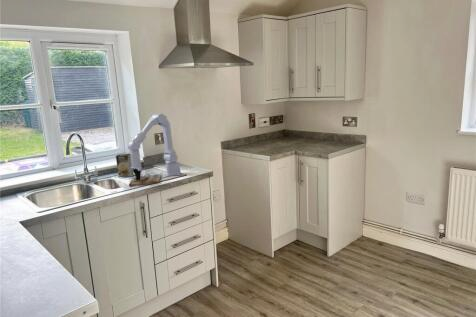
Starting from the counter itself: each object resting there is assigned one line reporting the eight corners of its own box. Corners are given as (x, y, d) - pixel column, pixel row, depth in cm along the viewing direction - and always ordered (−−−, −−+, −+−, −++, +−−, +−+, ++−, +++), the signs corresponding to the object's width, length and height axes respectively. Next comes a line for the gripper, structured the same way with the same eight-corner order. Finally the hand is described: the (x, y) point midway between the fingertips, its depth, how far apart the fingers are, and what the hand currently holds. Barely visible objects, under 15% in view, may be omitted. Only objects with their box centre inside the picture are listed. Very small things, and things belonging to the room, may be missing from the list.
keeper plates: (150, 175, 249) (150, 175, 249) (149, 179, 238) (148, 179, 238) (144, 176, 249) (144, 175, 248) (142, 180, 237) (142, 179, 237)
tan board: (161, 175, 252) (161, 173, 252) (158, 183, 231) (158, 181, 231) (133, 178, 250) (133, 176, 250) (129, 186, 229) (128, 184, 228)
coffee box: (118, 177, 256) (114, 155, 253) (121, 175, 263) (118, 154, 259) (130, 176, 255) (127, 155, 252) (133, 174, 262) (130, 153, 258)
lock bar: (147, 177, 241) (146, 173, 241) (148, 178, 239) (148, 174, 239) (132, 181, 235) (131, 177, 234) (133, 181, 233) (133, 177, 232)
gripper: (126, 159, 236) (129, 178, 239) (132, 162, 224) (135, 182, 226) (137, 157, 239) (140, 176, 242) (143, 160, 227) (146, 180, 230)
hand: (138, 179), depth 234 cm, fingers closed, pressing on lock bar
